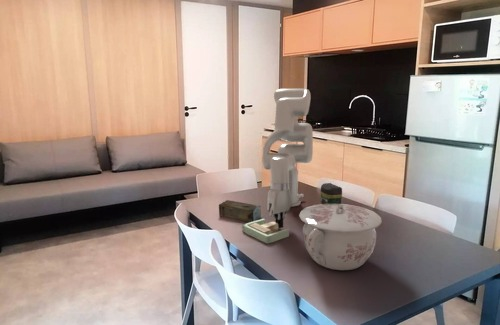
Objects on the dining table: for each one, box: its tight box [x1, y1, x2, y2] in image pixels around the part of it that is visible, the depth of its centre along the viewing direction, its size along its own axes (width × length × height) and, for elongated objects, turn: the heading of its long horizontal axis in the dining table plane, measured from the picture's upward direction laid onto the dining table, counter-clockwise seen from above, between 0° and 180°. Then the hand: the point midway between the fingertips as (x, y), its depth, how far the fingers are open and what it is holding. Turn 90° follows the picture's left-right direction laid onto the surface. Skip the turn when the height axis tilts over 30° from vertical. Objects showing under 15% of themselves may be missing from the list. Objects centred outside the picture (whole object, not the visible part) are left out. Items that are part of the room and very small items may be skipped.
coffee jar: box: [320, 182, 343, 204], centre depth 159 cm, size 10×8×19 cm
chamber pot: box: [298, 203, 383, 271], centre depth 125 cm, size 28×28×21 cm
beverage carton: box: [218, 199, 262, 222], centre depth 172 cm, size 8×19×7 cm, turn 62°
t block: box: [249, 221, 279, 235], centre depth 152 cm, size 10×10×4 cm
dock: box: [241, 218, 290, 244], centre depth 152 cm, size 12×16×3 cm
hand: (279, 226), depth 156 cm, fingers closed
